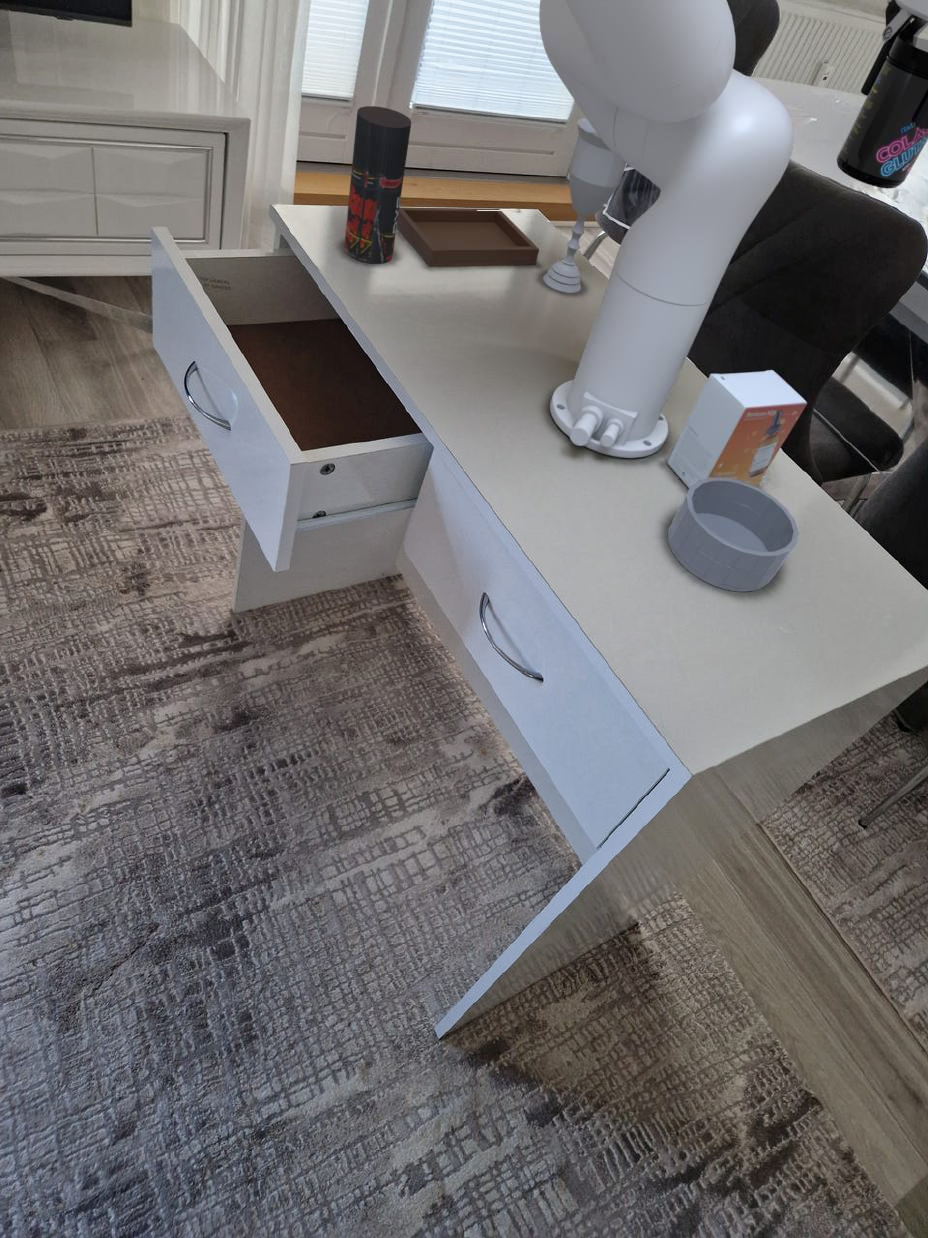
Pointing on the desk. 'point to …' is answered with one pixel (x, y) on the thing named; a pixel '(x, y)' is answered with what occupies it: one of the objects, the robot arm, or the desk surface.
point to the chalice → (585, 197)
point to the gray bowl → (732, 534)
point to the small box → (736, 427)
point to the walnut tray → (465, 237)
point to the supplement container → (890, 119)
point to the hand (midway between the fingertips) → (901, 109)
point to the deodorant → (376, 183)
